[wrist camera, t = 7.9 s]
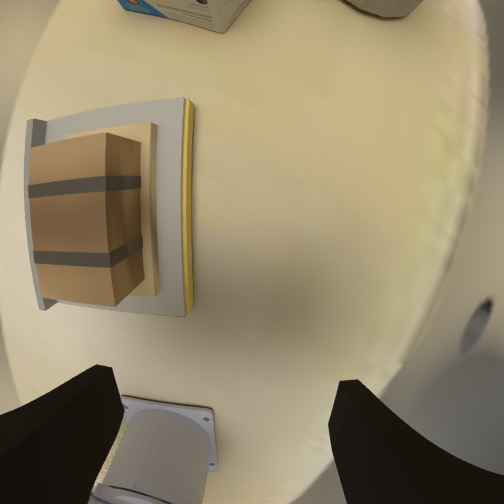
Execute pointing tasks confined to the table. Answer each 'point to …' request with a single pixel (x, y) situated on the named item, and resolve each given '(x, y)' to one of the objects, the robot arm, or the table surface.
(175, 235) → the dock
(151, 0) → the ink box
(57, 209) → the cardboard box
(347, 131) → the table surface
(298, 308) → the table surface
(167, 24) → the table surface
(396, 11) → the water bottle
